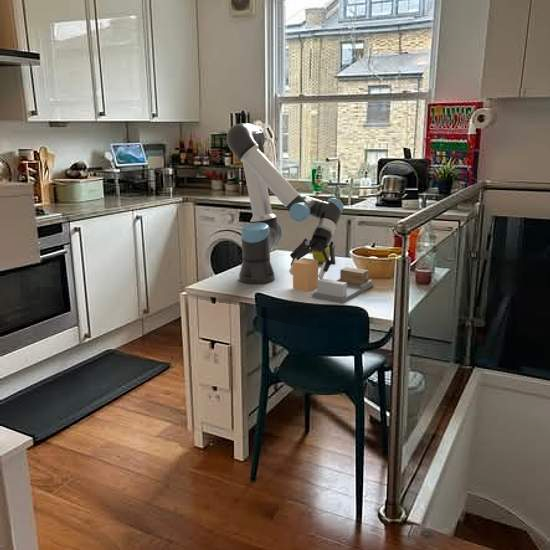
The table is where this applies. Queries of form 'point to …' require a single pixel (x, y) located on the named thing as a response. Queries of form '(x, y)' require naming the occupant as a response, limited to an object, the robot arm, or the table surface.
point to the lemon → (321, 255)
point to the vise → (339, 290)
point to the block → (305, 274)
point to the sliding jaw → (353, 275)
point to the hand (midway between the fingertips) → (305, 275)
